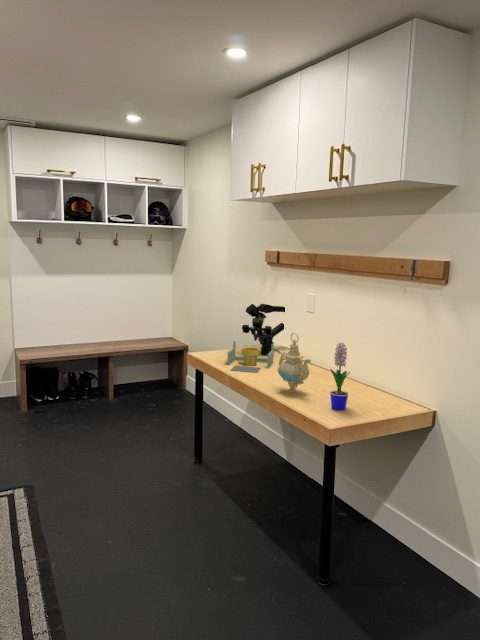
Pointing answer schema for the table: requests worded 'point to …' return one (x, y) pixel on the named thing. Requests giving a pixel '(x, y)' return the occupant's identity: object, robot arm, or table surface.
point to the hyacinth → (339, 379)
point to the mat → (246, 369)
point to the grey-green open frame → (232, 357)
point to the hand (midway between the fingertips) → (255, 340)
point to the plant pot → (250, 355)
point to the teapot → (293, 366)
